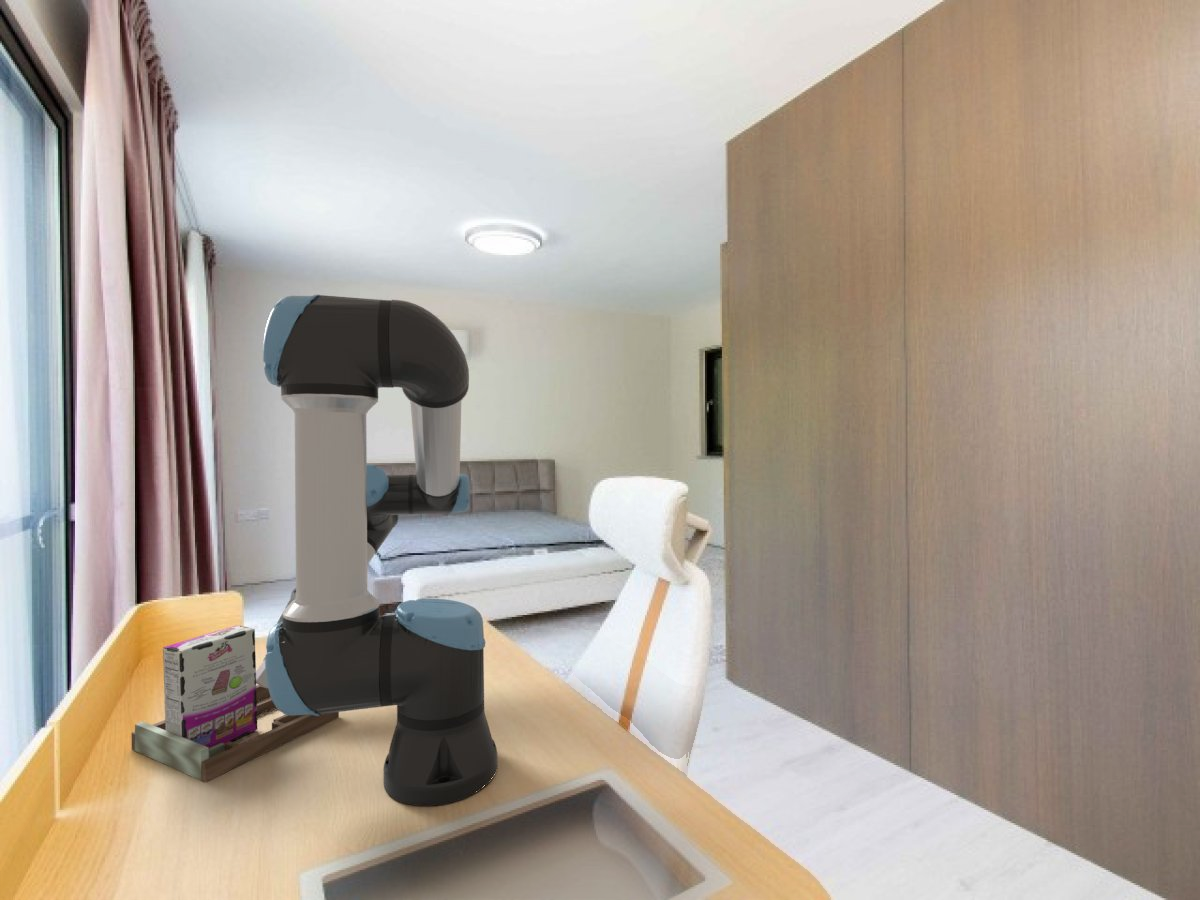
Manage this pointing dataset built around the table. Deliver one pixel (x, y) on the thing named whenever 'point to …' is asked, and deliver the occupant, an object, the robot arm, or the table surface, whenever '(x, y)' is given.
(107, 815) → the table surface
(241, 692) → the candy bar box
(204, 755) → the grey-brown low tray piece
